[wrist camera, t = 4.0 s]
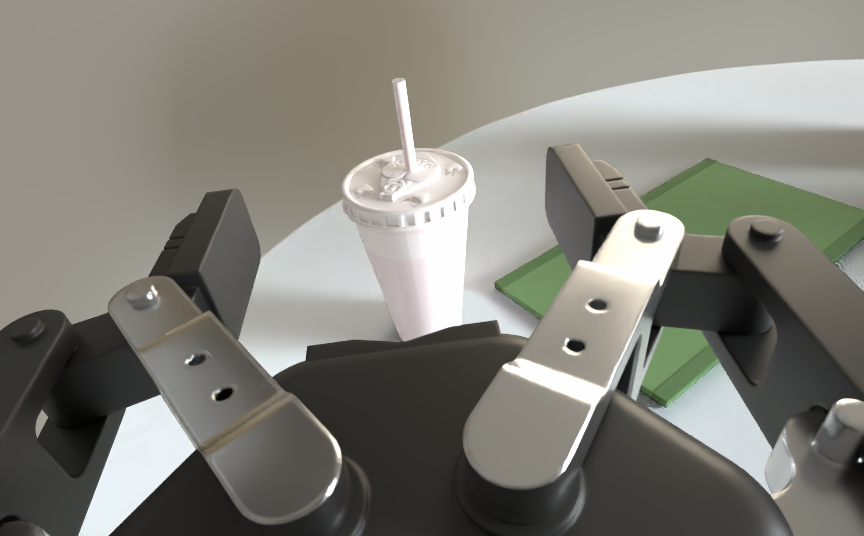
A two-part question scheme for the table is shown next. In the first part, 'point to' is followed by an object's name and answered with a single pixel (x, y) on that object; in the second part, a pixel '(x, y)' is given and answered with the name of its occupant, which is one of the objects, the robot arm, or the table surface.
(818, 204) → the green flat rectangular slab
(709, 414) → the table surface
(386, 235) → the smoothie
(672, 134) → the table surface
